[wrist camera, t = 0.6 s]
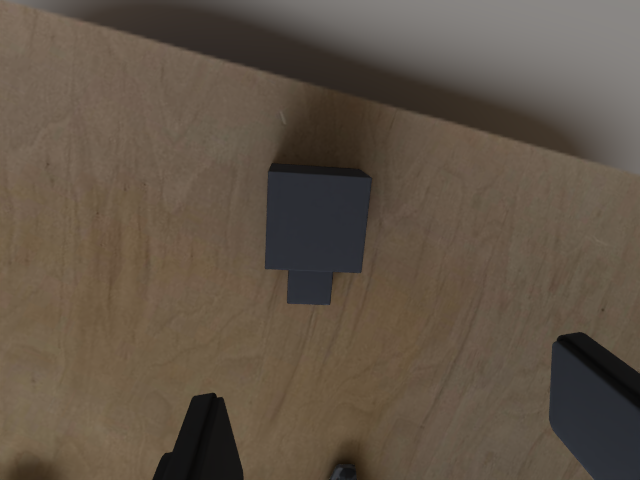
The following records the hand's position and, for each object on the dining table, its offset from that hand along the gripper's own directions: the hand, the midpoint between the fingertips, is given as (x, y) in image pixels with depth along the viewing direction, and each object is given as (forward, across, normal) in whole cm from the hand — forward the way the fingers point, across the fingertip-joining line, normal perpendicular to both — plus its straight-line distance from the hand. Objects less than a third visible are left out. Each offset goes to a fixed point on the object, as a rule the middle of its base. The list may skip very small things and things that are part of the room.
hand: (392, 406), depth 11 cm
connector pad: (+17, +1, 0) cm, 17 cm away
